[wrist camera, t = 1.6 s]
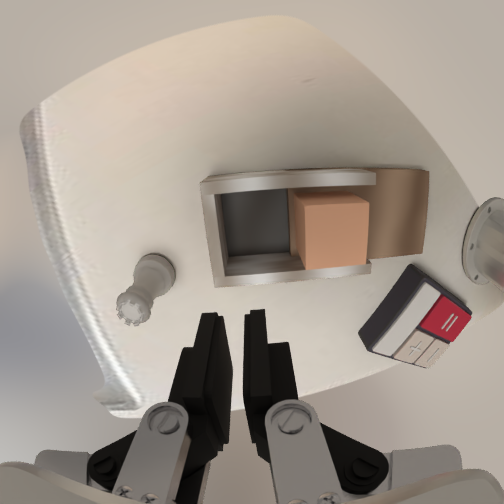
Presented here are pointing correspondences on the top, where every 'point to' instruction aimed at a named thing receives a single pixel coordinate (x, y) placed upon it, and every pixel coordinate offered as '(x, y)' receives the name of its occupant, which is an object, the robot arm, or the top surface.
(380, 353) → the calculator
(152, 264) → the rook chess piece
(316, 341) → the top surface
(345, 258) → the block
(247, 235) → the metal sorting tray
